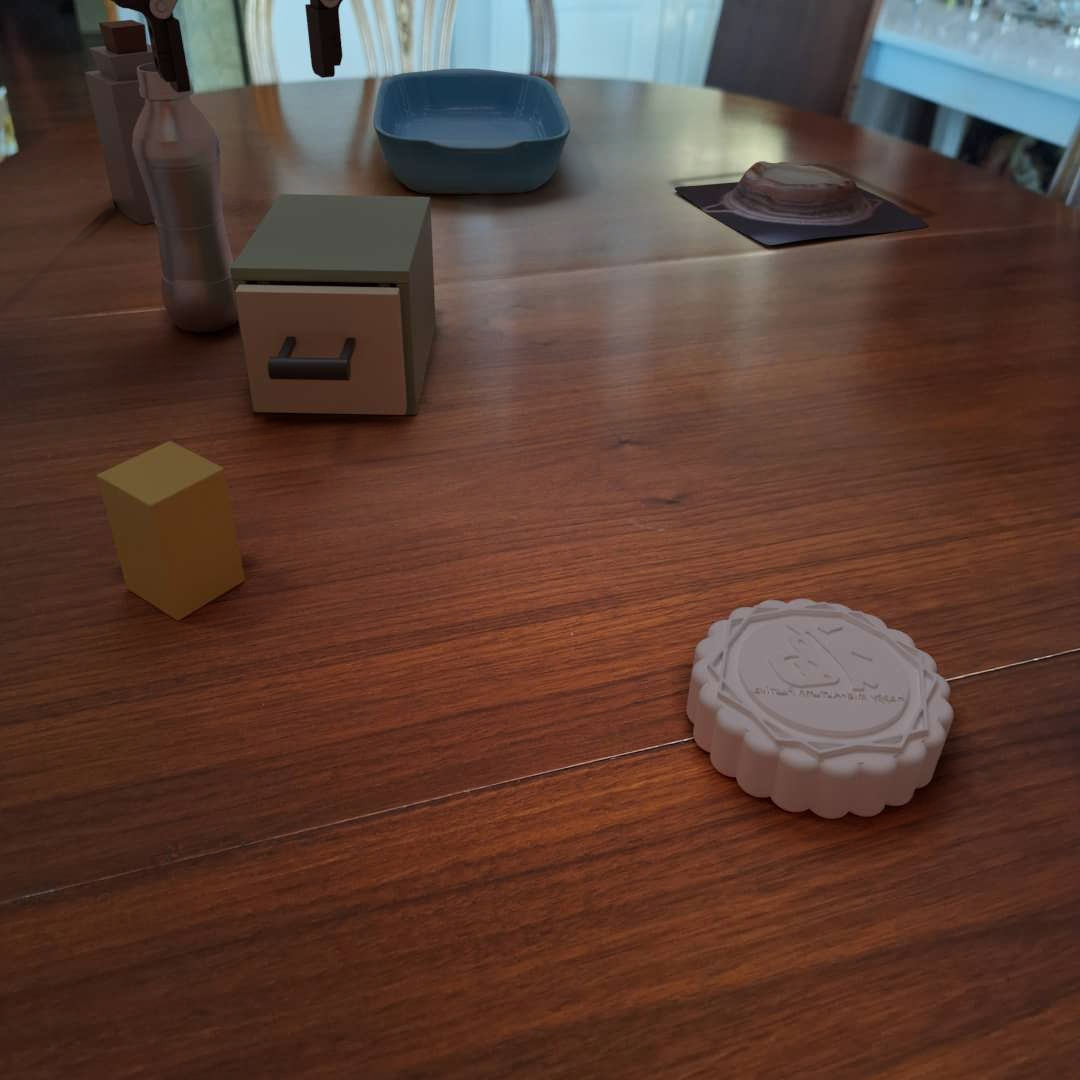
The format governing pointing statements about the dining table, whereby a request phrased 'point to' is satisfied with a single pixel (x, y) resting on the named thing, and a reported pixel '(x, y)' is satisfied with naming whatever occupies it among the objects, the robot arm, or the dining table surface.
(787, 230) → the round mound on square
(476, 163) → the casserole dish
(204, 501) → the block
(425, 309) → the cabinet
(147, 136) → the plastic bottle
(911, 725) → the mooncake
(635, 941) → the dining table surface
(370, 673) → the dining table surface
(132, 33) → the perfume bottle
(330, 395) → the drawer
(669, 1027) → the dining table surface
